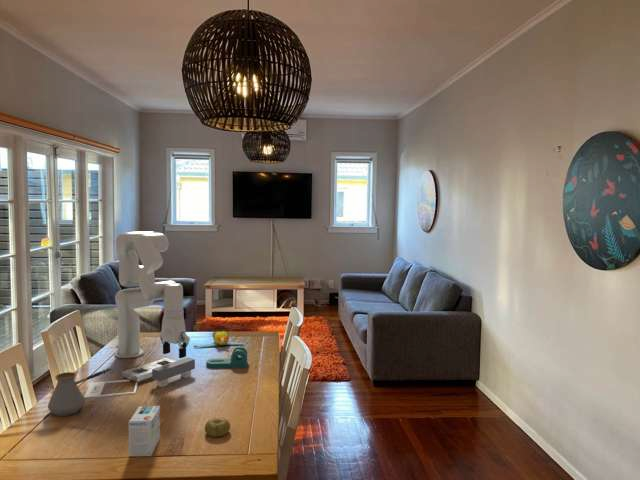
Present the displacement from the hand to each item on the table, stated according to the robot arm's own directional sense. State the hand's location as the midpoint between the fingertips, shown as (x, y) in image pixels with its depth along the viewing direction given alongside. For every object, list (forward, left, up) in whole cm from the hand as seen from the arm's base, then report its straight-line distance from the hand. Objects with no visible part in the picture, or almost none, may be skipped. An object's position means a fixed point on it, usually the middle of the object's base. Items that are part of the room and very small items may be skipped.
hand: (174, 355), depth 200 cm
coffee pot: (-4, -38, -11) cm, 39 cm away
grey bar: (0, 0, -11) cm, 11 cm away
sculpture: (+47, -22, -11) cm, 53 cm away
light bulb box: (+36, -41, -11) cm, 55 cm away
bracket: (+4, +26, -11) cm, 29 cm away
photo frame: (-13, -19, -11) cm, 26 cm away
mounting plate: (-14, 0, -11) cm, 18 cm away
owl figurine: (-21, +48, -12) cm, 53 cm away
